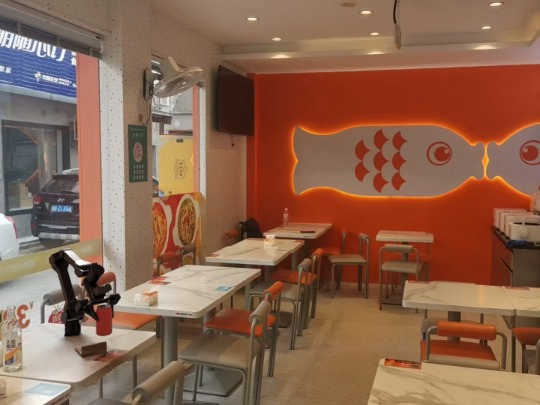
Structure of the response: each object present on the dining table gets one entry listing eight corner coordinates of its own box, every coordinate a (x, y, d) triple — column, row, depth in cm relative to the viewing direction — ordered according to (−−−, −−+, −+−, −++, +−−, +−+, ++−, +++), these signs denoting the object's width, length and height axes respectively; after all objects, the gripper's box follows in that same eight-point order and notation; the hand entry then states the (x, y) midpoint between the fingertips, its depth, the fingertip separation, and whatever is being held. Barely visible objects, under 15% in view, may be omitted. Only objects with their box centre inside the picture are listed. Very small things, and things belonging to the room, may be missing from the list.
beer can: (108, 330, 236) (108, 303, 235) (114, 334, 231) (114, 306, 230) (93, 333, 232) (93, 305, 231) (99, 337, 227) (99, 309, 226)
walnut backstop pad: (74, 349, 231) (74, 339, 231) (98, 345, 237) (98, 335, 237) (82, 357, 222) (82, 346, 222) (106, 352, 228) (106, 342, 228)
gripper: (77, 281, 226) (91, 313, 219) (118, 274, 239) (132, 304, 232) (69, 296, 232) (82, 328, 225) (109, 289, 245) (122, 318, 238)
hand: (105, 319), depth 230 cm, fingers closed on beer can, 7 cm apart
